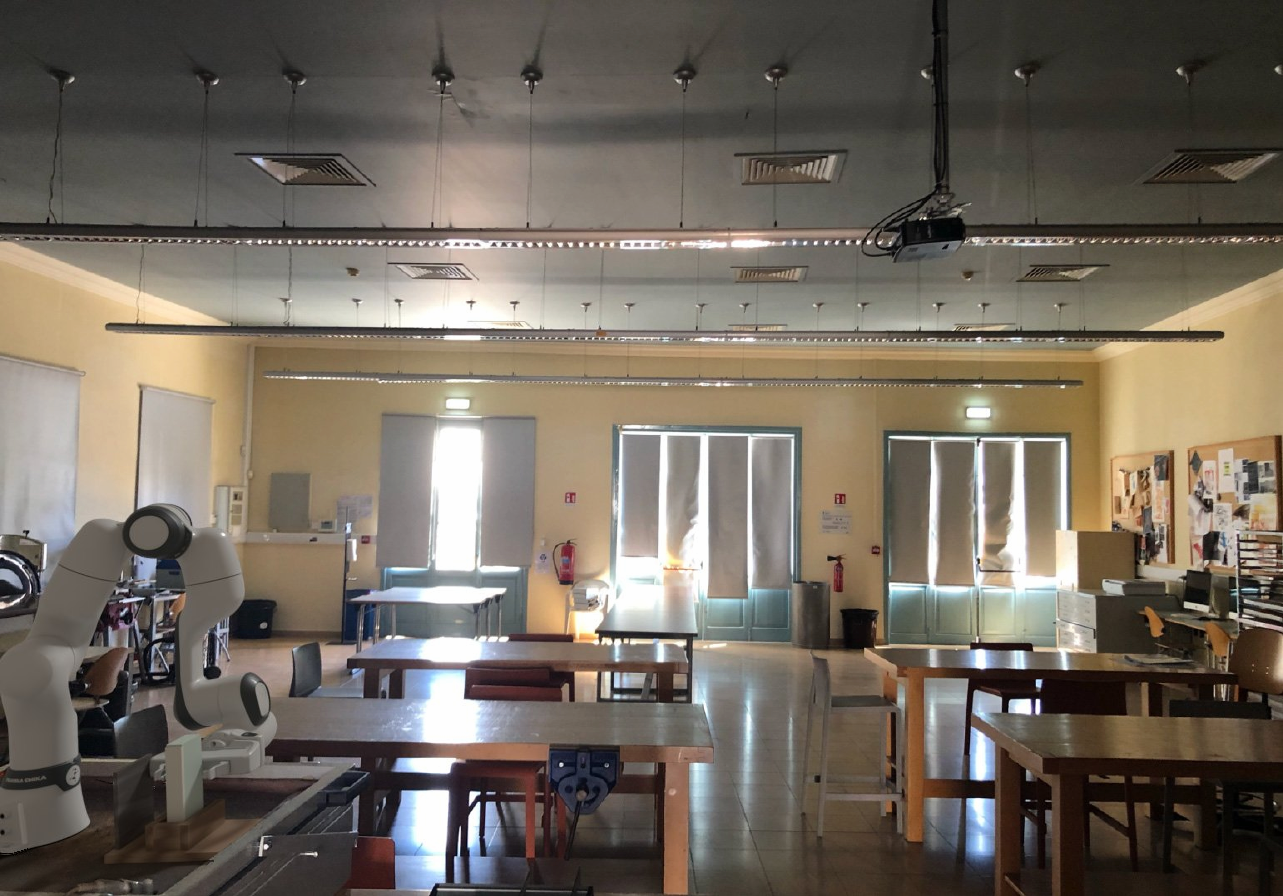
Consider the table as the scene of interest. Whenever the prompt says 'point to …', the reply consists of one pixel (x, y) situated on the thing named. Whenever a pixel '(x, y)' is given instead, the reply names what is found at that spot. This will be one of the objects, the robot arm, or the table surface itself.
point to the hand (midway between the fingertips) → (182, 776)
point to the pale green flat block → (184, 778)
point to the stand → (164, 824)
